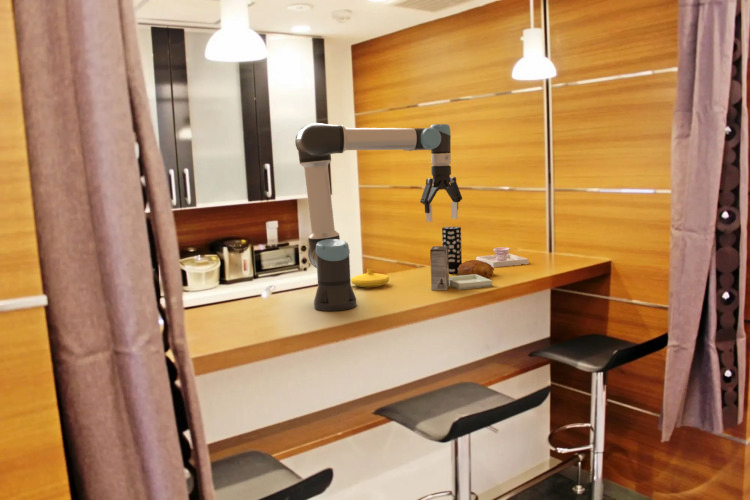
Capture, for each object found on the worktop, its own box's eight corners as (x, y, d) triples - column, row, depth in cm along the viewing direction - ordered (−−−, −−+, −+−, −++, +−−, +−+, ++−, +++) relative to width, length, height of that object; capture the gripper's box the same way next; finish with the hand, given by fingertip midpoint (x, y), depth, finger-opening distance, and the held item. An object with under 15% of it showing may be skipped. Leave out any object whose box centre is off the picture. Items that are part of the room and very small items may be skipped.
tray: (459, 290, 239) (459, 283, 239) (444, 283, 254) (444, 277, 253) (492, 286, 243) (492, 280, 243) (475, 279, 257) (475, 274, 257)
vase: (370, 280, 266) (370, 264, 265) (397, 285, 254) (396, 268, 253) (343, 287, 255) (342, 270, 254) (370, 291, 244) (369, 274, 242)
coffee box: (433, 285, 250) (432, 246, 247) (449, 285, 248) (448, 245, 246) (431, 290, 241) (429, 249, 239) (447, 290, 240) (446, 249, 237)
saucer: (493, 267, 283) (493, 262, 283) (476, 261, 301) (476, 256, 300) (528, 264, 288) (528, 259, 288) (510, 258, 305) (510, 253, 305)
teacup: (485, 260, 299) (485, 247, 299) (509, 258, 301) (509, 246, 300) (493, 264, 288) (493, 251, 287) (518, 262, 289) (518, 249, 288)
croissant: (471, 285, 257) (472, 267, 255) (452, 274, 271) (452, 257, 268) (500, 280, 263) (501, 262, 260) (480, 270, 276) (480, 253, 274)
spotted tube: (465, 272, 275) (464, 227, 272) (451, 274, 270) (450, 229, 267) (453, 269, 282) (452, 226, 279) (439, 272, 277) (438, 228, 274)
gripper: (423, 166, 228) (424, 223, 231) (470, 164, 243) (471, 217, 246) (410, 166, 234) (411, 222, 237) (457, 164, 249) (457, 216, 252)
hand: (442, 220), depth 242 cm, fingers open, 13 cm apart
